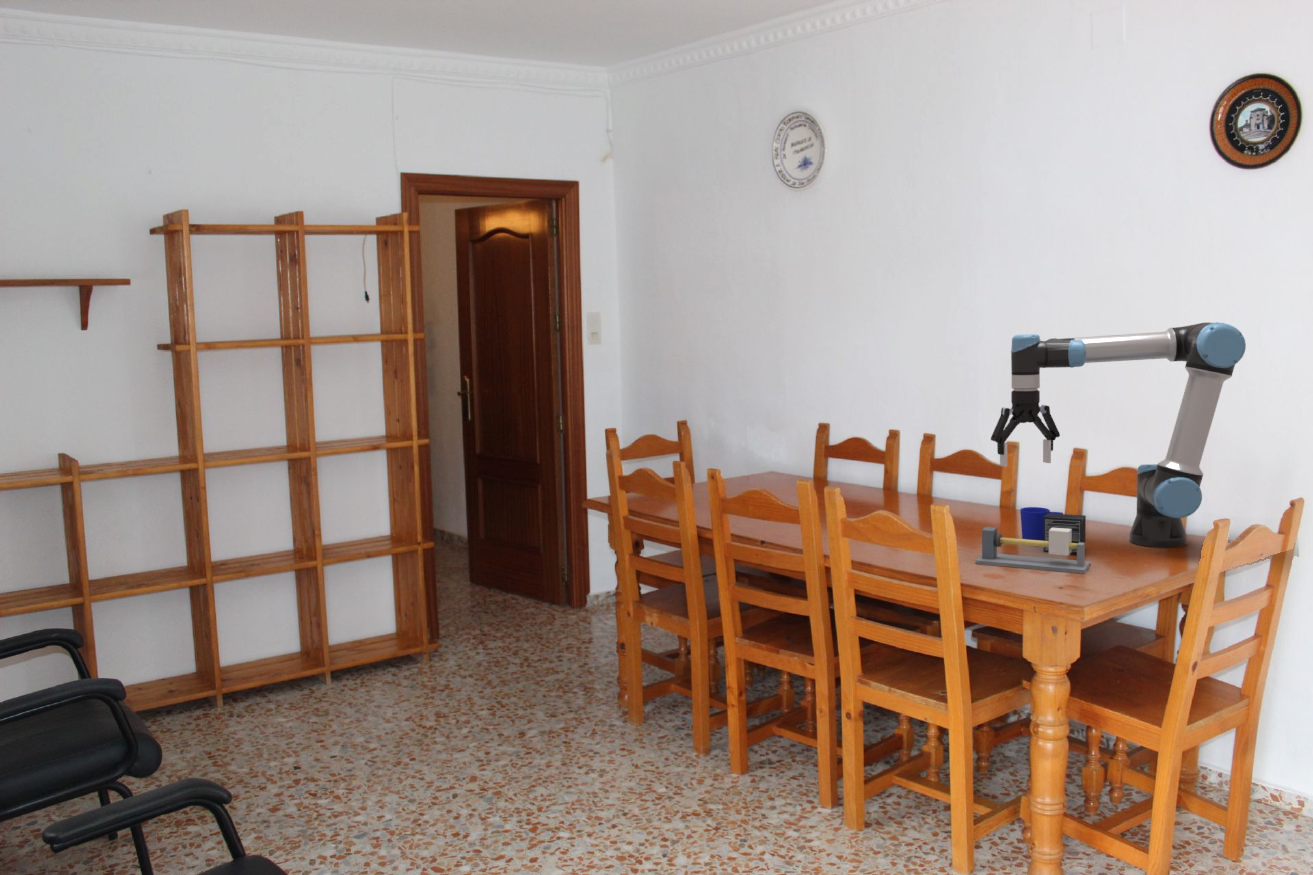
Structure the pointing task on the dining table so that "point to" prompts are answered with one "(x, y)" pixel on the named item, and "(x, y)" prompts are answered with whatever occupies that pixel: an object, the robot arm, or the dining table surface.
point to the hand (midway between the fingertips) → (1025, 464)
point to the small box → (1069, 522)
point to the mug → (1034, 522)
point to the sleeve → (1060, 541)
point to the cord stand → (992, 558)
